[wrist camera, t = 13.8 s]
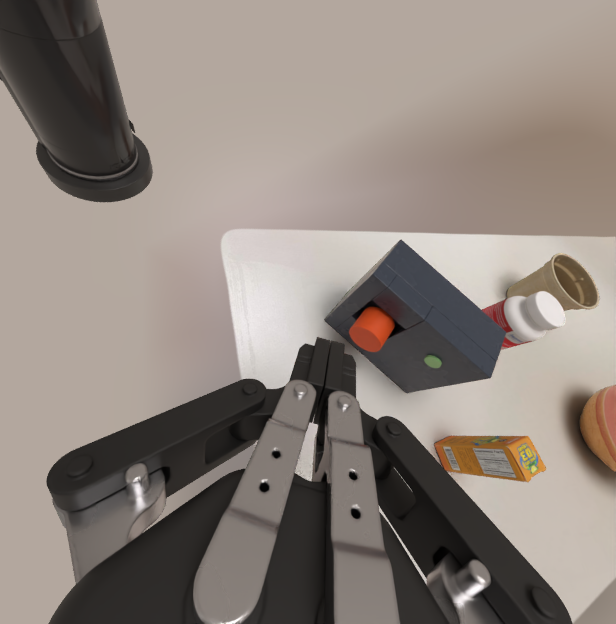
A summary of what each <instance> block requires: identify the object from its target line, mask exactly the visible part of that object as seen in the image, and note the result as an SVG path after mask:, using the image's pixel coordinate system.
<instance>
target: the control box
mask: <svg viewBox="0 0 616 624" xmlns="http://www.w3.org/2000/svg"><path fill="white" fill-rule="evenodd" d="M367 307H378V308H381V309H383V310H384V311H385V312H386V313H387V314H389V315H390V316H391V317H392V318H393V320H394V323H395V327H394V329H393V331H392V332H391V334H390V335H389V337H388V338H387V340H386V342H385V343H384V345H383V346H382V348H381V349H380V350H379V351H377V352H370V351H367V350H364V349H362V348H361V347H359V346H358V345H357V344H356V343H355V342H354V341H353V340H352V338H351V337H350V334H349V331H350V328H351V327H352V326H353V324H354V323H355V322H356V320H357V319H358V318H359V316H360V315H361V314H362V312H363V311H364V310H365V309H366V308H367ZM325 321H326V322H327V323H328V324H329V325H330V326H332V327H333V328H334V329H335V330H336V331H337V332H338V333H339V334H341V335H342V336H343V337H344V338H345V339H346V340H347V341H348V342H350V343H351V344H352V345H353V346H354V347H355V348H356V349H357V350H359V351H360V352H361V353H362V354H363V355H364V356H365V357H367V358H368V359H369V360H370V361H371V362H372V363H373V364H374V365H376V366H377V367H378V368H379V369H380V370H381V371H382V372H383V373H385V374H386V375H387V376H388V377H389V378H390V379H391V380H392V381H394V382H395V383H396V384H397V385H398V386H399V387H400V388H401V389H403V390H404V391H405V392H406V393H409V392H415V391H420V390H426V389H432V388H437V387H443V386H449V385H454V384H460V383H466V382H471V381H477V380H483V379H488V378H491V376H492V373H493V370H494V367H495V364H496V361H497V359H498V356H499V353H500V350H501V347H502V344H503V341H504V338H505V335H506V331H505V330H504V329H502V328H501V327H500V326H499V325H498V324H497V323H496V322H494V321H493V320H492V319H491V318H490V317H489V316H488V315H486V314H485V313H484V312H483V311H482V310H481V309H480V308H478V307H477V306H476V305H475V304H474V303H473V302H472V301H470V300H469V299H468V298H467V297H466V296H465V295H464V294H463V293H461V292H460V291H459V290H458V289H457V288H456V287H455V286H453V285H452V284H451V283H450V282H449V281H448V280H447V279H445V278H444V277H443V276H442V275H441V274H440V273H439V272H437V271H436V270H435V269H434V268H433V267H432V266H431V265H429V264H428V263H427V262H426V261H425V260H424V259H423V258H422V257H420V256H419V255H418V254H417V253H416V252H415V251H414V250H412V249H411V248H410V247H409V246H408V245H407V244H406V243H404V242H403V241H402V240H400V241H399V242H398V243H397V244H396V245H395V246H394V247H393V248H392V249H391V250H390V251H389V252H388V253H387V254H386V255H385V256H384V257H383V258H382V259H380V260H379V261H378V262H377V263H376V264H375V265H374V266H373V267H372V268H371V269H370V270H369V271H368V272H367V273H366V274H365V275H364V276H363V277H362V278H361V279H360V280H359V281H358V282H357V283H356V284H355V285H354V286H353V287H352V288H351V289H350V290H349V291H348V292H347V293H346V295H345V296H344V297H343V298H342V299H341V301H340V302H339V303H338V304H337V305H336V307H335V308H334V309H333V310H332V311H331V312H330V314H329V315H328V316H327V317H326V318H325Z"/></svg>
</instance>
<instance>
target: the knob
mask: <svg viewBox="0 0 616 624" xmlns="http://www.w3.org/2000/svg"><path fill="white" fill-rule="evenodd" d="M394 327H395V323H394V320H393V318H392V317H391V316H390V315H389V314H387V313H386V312H385V311H384V310H383V309H381V308H378V307H367V308H366V309H365V310H364V311H363V312H362V314H361V315H360V316H359V318H358V319H357V320H356V322H355V323H354V324H353V326H352V327H351V328H350V331H349V334H350V337H351V338H352V340H353V341H354V342H355V343H356V344H357V345H358V346H359V347H361V348H362V349H364V350H367V351H370V352H377V351H379V350H380V349H381V348H382V346H383V345H384V343H385V342H386V340H387V338H388V337H389V335H390V334H391V332H392V331H393V329H394Z"/></svg>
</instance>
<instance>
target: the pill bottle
mask: <svg viewBox="0 0 616 624" xmlns="http://www.w3.org/2000/svg"><path fill="white" fill-rule="evenodd" d="M482 311H483V312H484V313H485V314H486V315H488V316H489V317H490V318H491V319H492V320H493V321H494V322H496V323H497V324H498V325H499V326H500V327H501V328H502V329H504V330H505V331H506V335H505V338H504V341H503V344H502V347H501V350H502V349H506V348H509V347H513V346H517V345H520V344H524V343H528V342H532V341H535V340H538V339H540V338H542V337H543V336H544V335H545V333H546V330H552V329H556V328H559V327H562V326H563V325H564V323H565V313H564V310H563V308H562V306H561V305H560V303H559V302H558V301H557V299H556V298H555V297H554V296H552V295H551V294H549V293H548V292H545V291H540V292H537V293H534V294H532V295H530V296H528V297H524V296H513V297H510V298H508V299H505V300H503V301H501V302H498V303H496V304H494V305H492V306H489V307H487V308H485V309H482Z"/></svg>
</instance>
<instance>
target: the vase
mask: <svg viewBox="0 0 616 624" xmlns="http://www.w3.org/2000/svg"><path fill="white" fill-rule="evenodd" d="M580 430H581V433H582V436H583V439H584V441H585V442H586V444H587V446H588V447H589V449H590V450H591V451H592V452H593V453H594V454H595V455H596V456H597V457H598V458H599V459H601V460H602V461H603V462H604V463H605V464H606V465H607V466H608V467H609V468H610V469H612V470H613V471H614V472H615V473H616V385H613V386H609V387H606V388H604V389H601V390H599V391H598V392H596V393H595V394H594V395H593V396H591V397H590V399H589V400H588V401H587V403H586V404H585V407H584V410H583V411H582V413H581V415H580Z"/></svg>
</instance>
